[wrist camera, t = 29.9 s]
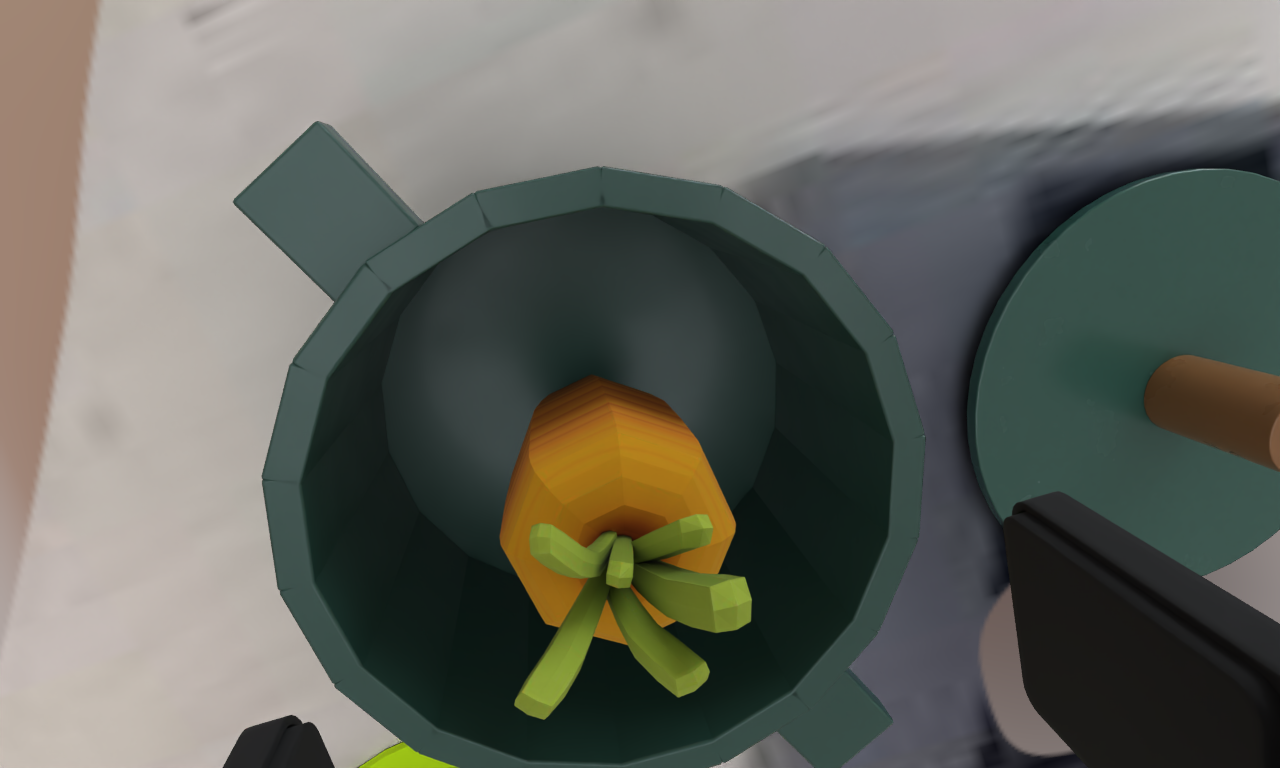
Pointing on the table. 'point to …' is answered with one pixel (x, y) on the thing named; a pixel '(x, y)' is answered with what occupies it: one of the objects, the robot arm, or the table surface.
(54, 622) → the table surface
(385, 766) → the toy cauldron
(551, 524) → the carrot
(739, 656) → the pot
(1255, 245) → the lid
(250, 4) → the table surface
